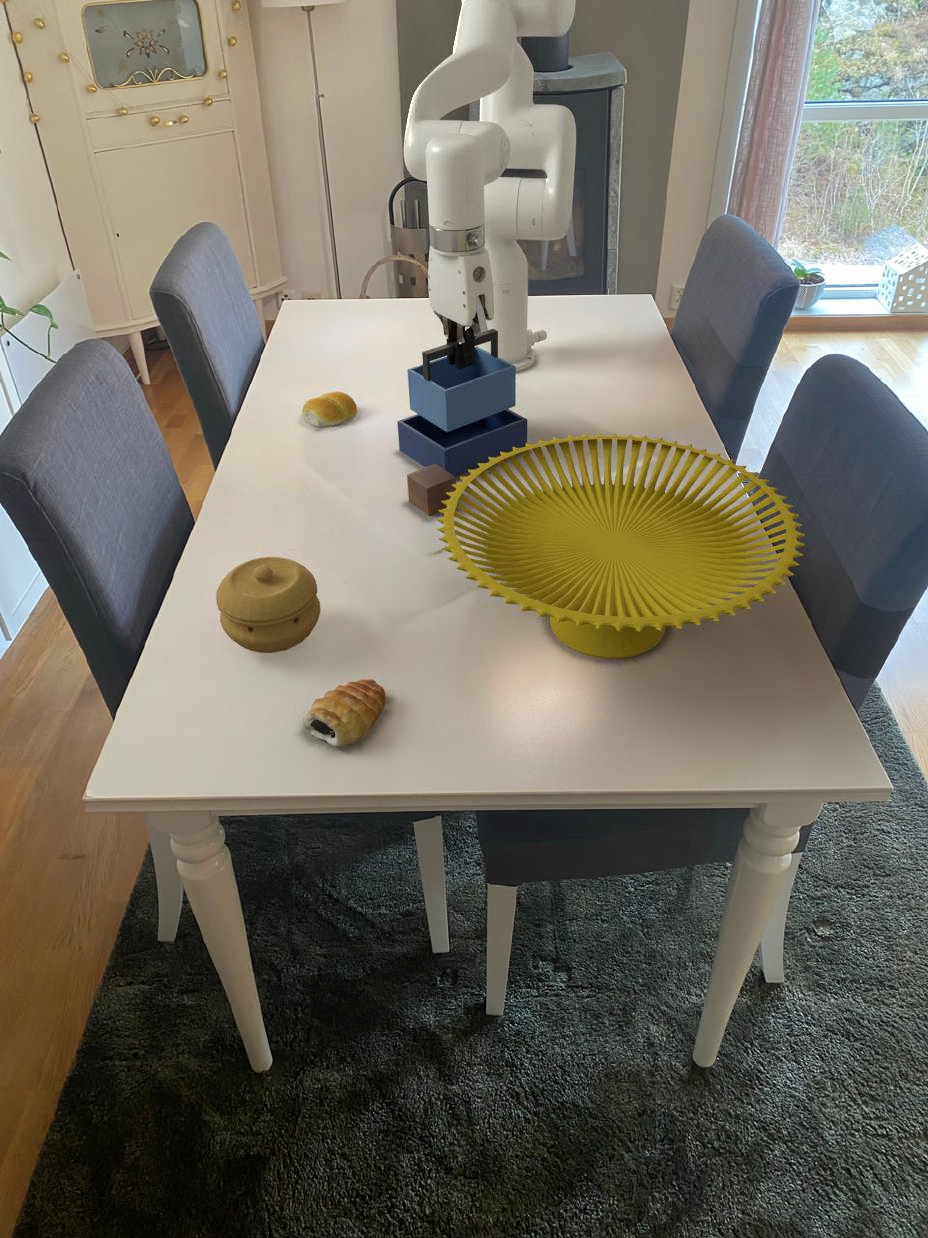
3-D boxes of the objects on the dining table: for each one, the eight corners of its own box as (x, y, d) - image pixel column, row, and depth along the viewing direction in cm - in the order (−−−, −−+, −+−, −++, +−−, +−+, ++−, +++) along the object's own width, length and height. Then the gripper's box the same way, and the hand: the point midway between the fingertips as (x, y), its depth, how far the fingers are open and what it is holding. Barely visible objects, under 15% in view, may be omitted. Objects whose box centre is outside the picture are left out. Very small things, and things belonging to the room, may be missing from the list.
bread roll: (366, 415, 160) (364, 393, 157) (326, 433, 155) (323, 411, 152) (334, 401, 164) (332, 379, 162) (294, 418, 159) (291, 396, 157)
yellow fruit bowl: (806, 569, 122) (831, 466, 112) (739, 788, 93) (765, 674, 84) (516, 506, 135) (517, 410, 126) (381, 679, 107) (369, 572, 98)
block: (436, 493, 139) (435, 463, 136) (457, 507, 136) (456, 477, 133) (408, 504, 137) (406, 474, 133) (428, 519, 133) (427, 488, 130)
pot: (221, 615, 117) (206, 549, 111) (315, 598, 119) (305, 532, 113) (230, 676, 108) (213, 607, 102) (331, 656, 110) (321, 587, 104)
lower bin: (478, 423, 156) (478, 392, 153) (527, 451, 148) (527, 419, 145) (399, 453, 149) (397, 421, 145) (445, 484, 141) (444, 450, 137)
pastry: (355, 682, 107) (352, 657, 104) (403, 705, 104) (401, 680, 101) (299, 732, 101) (294, 706, 98) (347, 758, 98) (344, 732, 95)
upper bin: (477, 384, 150) (475, 320, 143) (515, 406, 144) (516, 339, 137) (410, 409, 144) (405, 342, 138) (447, 432, 138) (444, 364, 132)
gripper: (514, 244, 125) (514, 374, 137) (445, 217, 135) (450, 341, 146) (469, 256, 122) (473, 389, 133) (402, 228, 131) (410, 354, 143)
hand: (461, 363), depth 140 cm, fingers closed on upper bin, 1 cm apart
